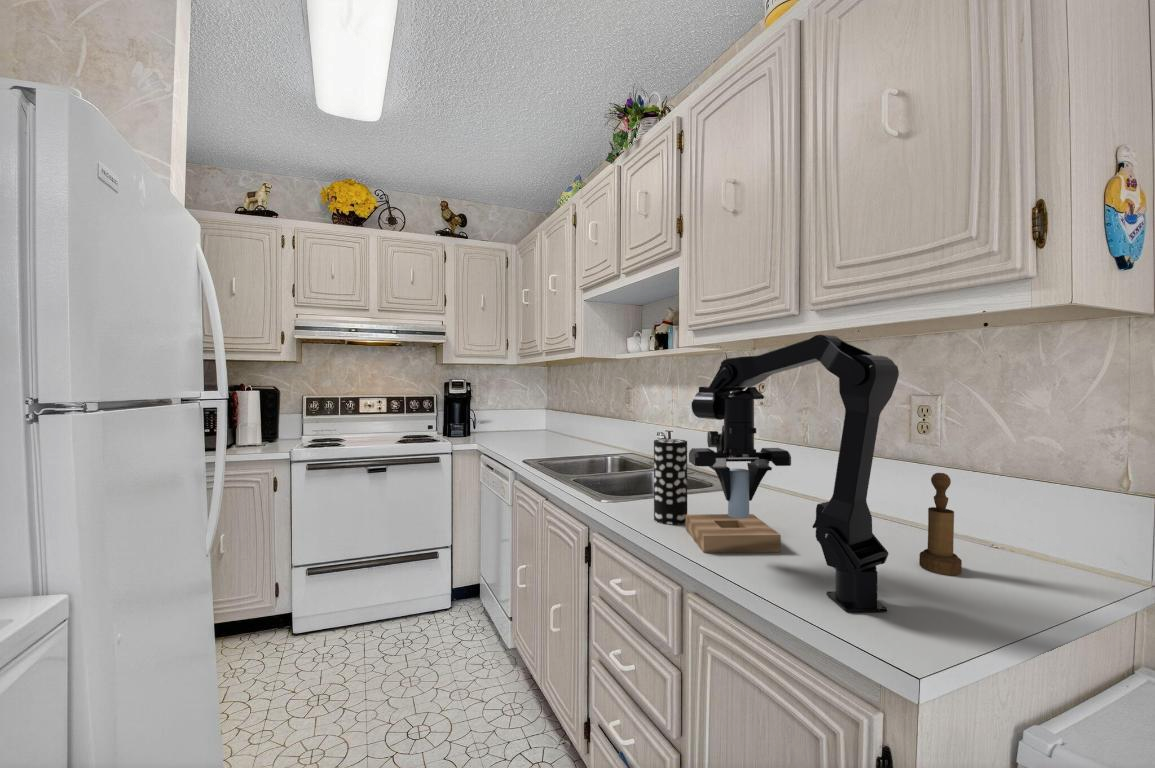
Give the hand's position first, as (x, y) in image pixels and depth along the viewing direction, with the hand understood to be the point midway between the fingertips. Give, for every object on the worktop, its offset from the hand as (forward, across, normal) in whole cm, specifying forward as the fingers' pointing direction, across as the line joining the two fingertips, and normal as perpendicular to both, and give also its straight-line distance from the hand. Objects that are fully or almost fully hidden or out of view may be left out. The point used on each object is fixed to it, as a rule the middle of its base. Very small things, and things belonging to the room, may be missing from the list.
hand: (738, 500), depth 101 cm
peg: (+3, 0, 0) cm, 3 cm away
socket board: (+12, -2, -12) cm, 17 cm away
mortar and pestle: (+12, -36, +6) cm, 38 cm away
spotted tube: (+12, +8, -28) cm, 31 cm away
